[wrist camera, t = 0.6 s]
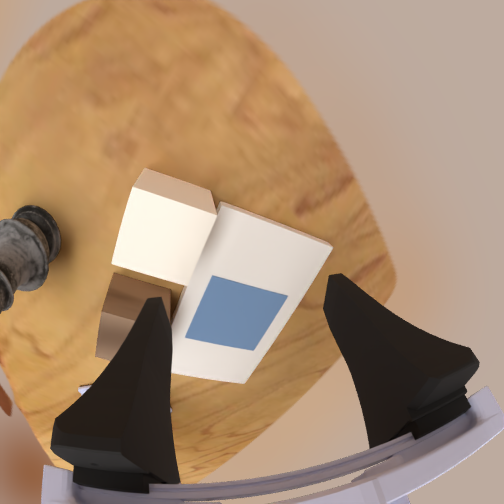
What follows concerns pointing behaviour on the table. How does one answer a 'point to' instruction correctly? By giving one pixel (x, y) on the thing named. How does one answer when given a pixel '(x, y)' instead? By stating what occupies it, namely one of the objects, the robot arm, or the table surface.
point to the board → (241, 294)
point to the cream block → (164, 227)
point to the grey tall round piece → (26, 251)
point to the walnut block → (124, 311)
